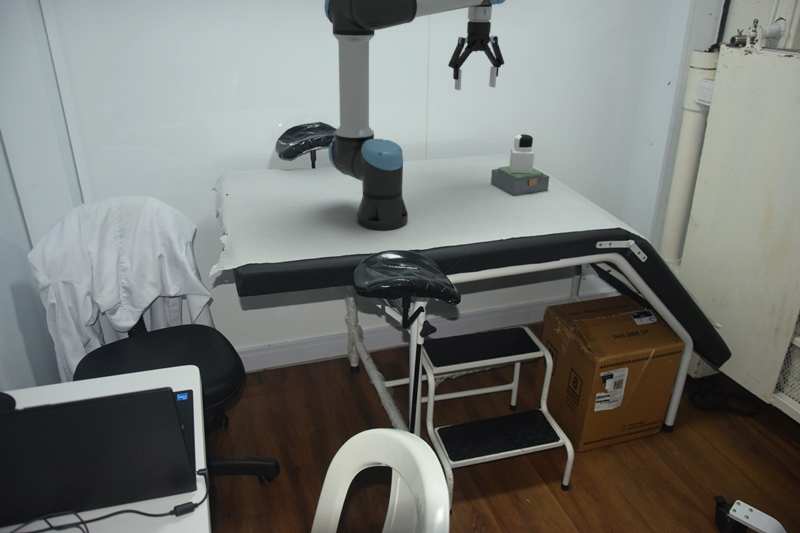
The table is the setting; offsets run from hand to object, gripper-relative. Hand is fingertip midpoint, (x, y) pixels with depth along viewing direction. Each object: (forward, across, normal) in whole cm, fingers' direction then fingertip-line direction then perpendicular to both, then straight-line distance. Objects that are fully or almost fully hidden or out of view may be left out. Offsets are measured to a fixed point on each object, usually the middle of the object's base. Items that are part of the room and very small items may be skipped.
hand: (475, 88), depth 207 cm
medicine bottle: (+26, +11, -15) cm, 32 cm away
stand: (+32, +11, -15) cm, 37 cm away
